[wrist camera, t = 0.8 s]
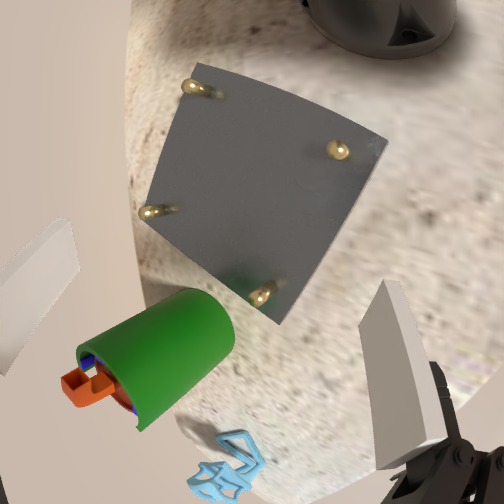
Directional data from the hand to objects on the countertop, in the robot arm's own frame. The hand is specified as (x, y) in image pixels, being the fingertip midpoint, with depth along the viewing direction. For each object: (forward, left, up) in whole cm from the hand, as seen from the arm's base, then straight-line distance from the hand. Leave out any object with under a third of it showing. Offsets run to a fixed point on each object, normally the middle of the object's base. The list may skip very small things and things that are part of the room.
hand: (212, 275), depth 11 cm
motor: (+19, -7, -17) cm, 27 cm away
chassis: (+1, -9, -17) cm, 19 cm away
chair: (+37, +9, -17) cm, 42 cm away
